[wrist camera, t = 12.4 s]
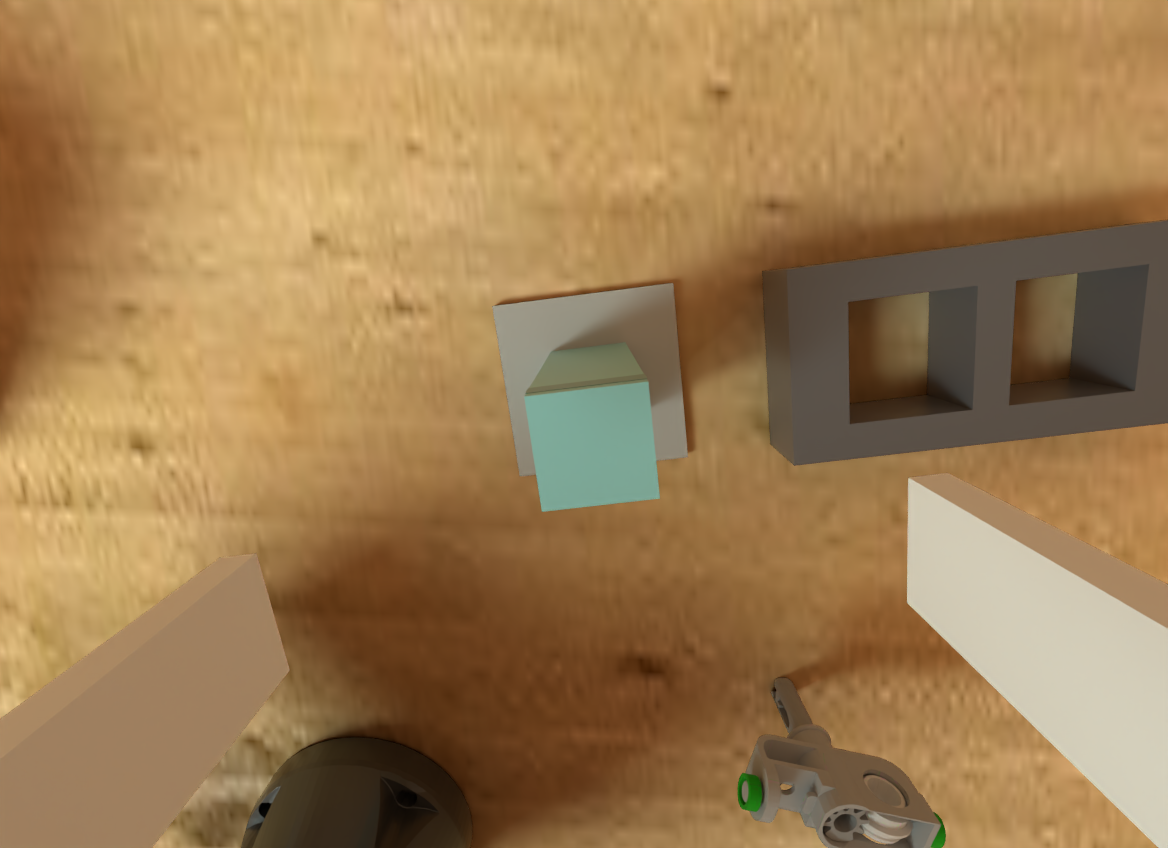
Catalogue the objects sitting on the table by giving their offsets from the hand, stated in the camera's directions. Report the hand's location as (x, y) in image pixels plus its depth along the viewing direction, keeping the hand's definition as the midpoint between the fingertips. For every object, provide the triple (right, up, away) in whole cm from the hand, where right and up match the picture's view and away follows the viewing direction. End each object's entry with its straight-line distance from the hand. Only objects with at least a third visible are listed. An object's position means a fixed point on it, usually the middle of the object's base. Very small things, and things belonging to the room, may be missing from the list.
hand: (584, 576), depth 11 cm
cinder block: (+20, +8, +20) cm, 30 cm away
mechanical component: (+13, -14, +26) cm, 33 cm away
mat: (0, +6, +21) cm, 22 cm away
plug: (0, +5, +21) cm, 21 cm away
